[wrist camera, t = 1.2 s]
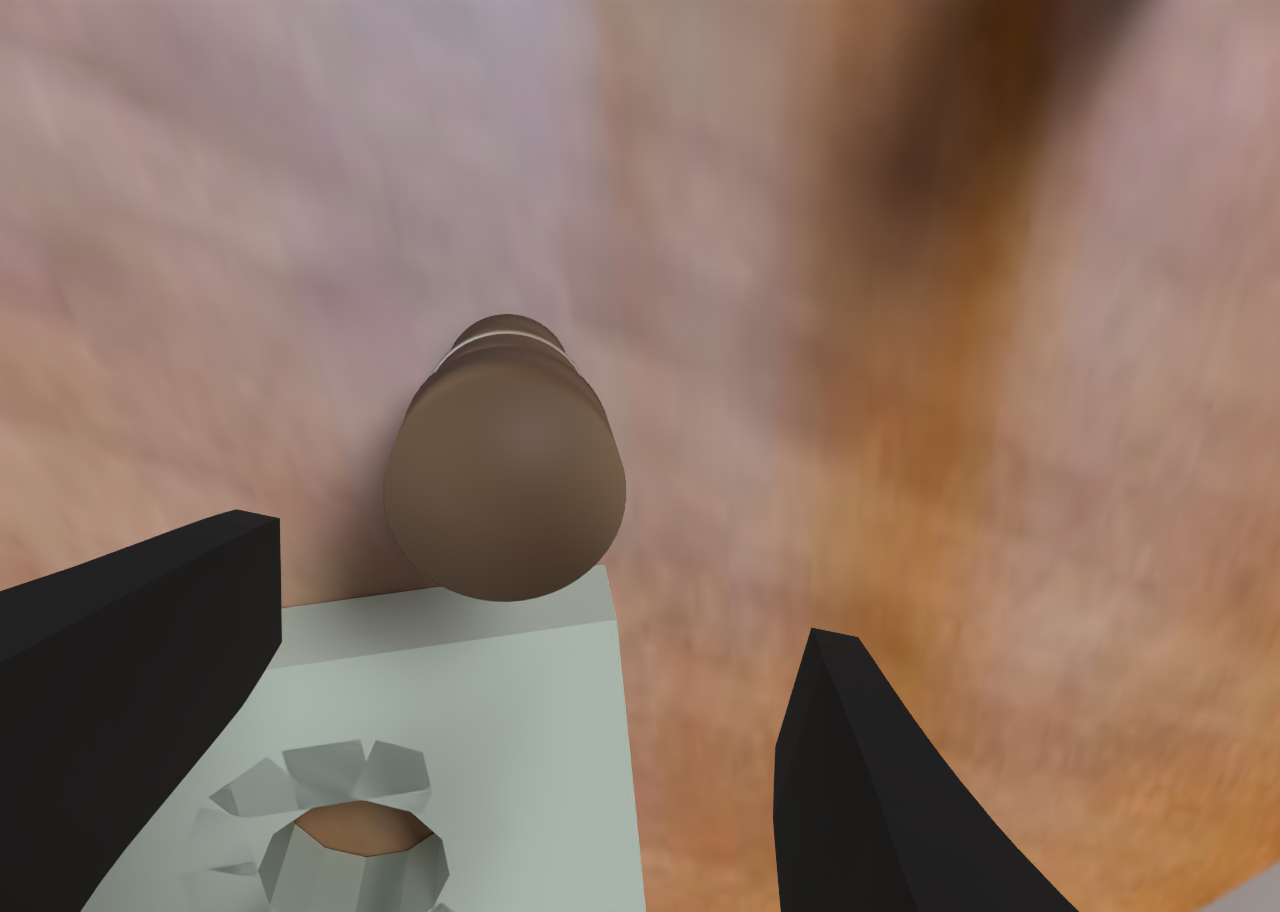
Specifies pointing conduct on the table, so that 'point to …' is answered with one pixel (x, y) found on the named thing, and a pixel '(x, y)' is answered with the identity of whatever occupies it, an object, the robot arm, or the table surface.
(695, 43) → the table surface
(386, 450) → the table surface
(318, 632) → the board
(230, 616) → the robot arm
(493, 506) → the peg
